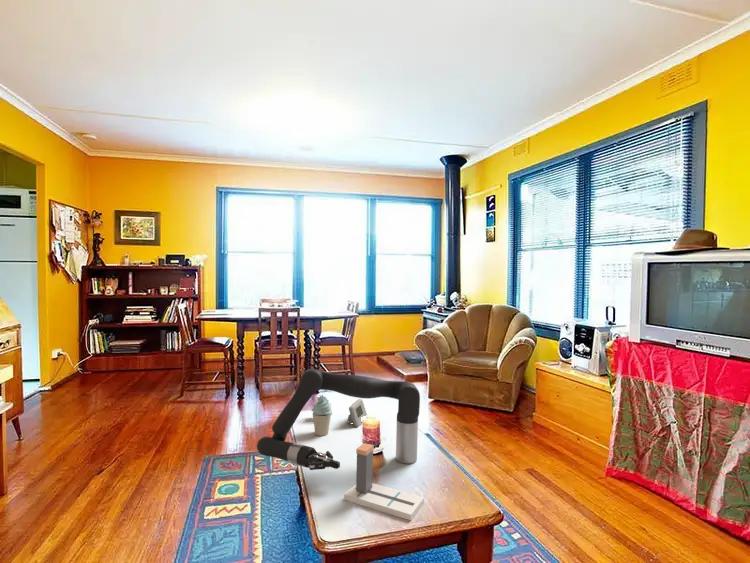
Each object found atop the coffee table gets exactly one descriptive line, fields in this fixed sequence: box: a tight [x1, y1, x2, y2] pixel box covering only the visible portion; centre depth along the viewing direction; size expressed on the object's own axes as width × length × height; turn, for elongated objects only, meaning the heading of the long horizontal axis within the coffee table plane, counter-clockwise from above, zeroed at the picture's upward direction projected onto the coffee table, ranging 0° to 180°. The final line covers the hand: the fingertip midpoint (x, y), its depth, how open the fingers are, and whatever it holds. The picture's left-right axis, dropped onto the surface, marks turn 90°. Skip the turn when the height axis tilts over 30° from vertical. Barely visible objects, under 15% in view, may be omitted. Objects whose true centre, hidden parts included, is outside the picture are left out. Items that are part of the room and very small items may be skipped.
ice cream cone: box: [311, 394, 333, 437], centre depth 213 cm, size 10×11×20 cm
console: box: [343, 482, 425, 521], centre depth 153 cm, size 12×26×2 cm, turn 63°
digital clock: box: [347, 398, 368, 428], centre depth 230 cm, size 16×9×11 cm, turn 150°
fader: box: [355, 442, 375, 494], centre depth 157 cm, size 6×4×16 cm, turn 153°
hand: (338, 465), depth 162 cm, fingers closed
